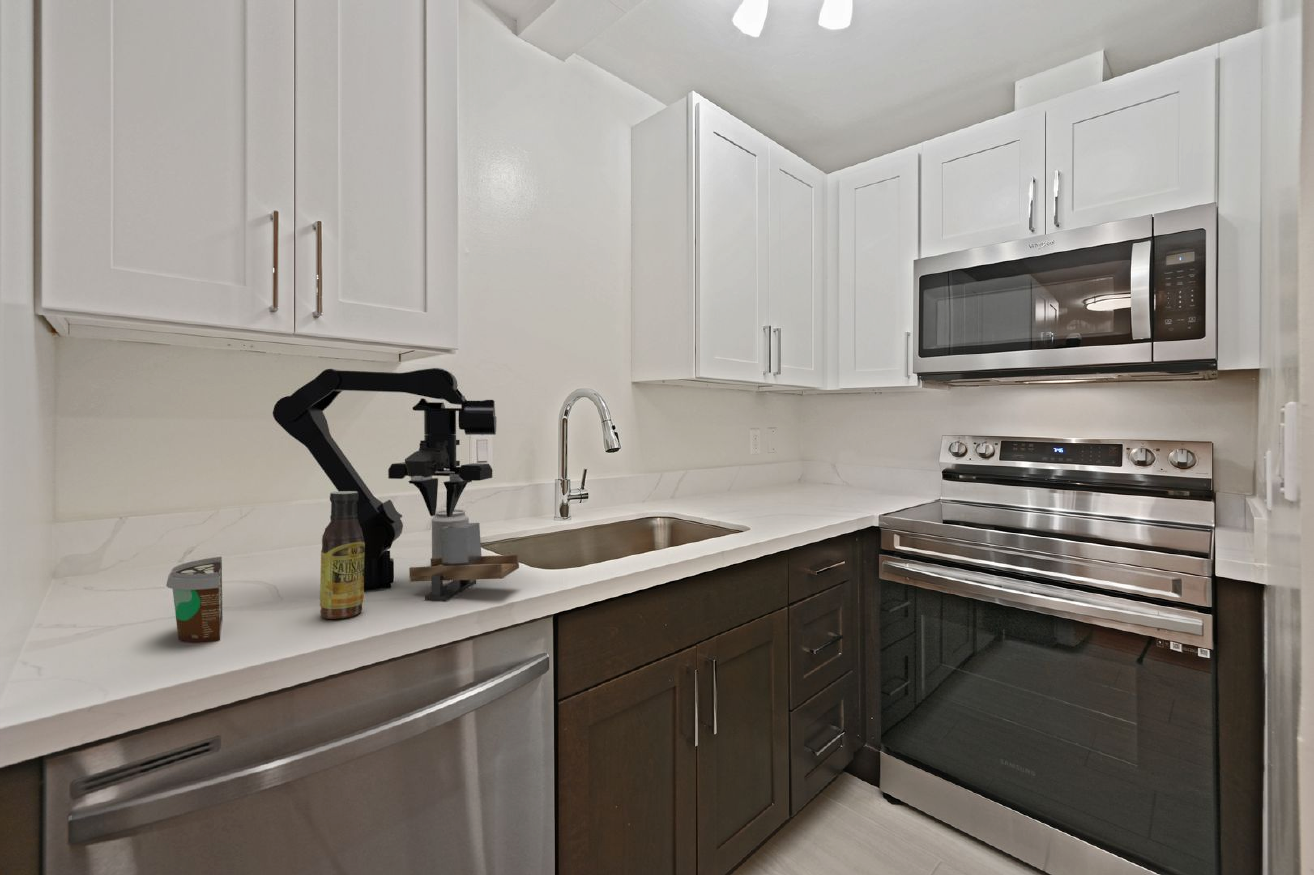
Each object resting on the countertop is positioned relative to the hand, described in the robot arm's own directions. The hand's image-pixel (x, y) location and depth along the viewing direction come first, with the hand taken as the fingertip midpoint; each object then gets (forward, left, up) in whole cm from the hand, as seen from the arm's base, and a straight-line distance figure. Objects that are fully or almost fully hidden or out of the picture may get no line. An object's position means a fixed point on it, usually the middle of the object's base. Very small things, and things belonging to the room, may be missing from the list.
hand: (441, 516), depth 111 cm
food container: (-35, -13, -13) cm, 40 cm away
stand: (+1, -6, -13) cm, 15 cm away
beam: (+3, -8, -10) cm, 13 cm away
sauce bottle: (-16, -12, -13) cm, 24 cm away
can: (+3, +13, -13) cm, 19 cm away
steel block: (+3, -8, -9) cm, 12 cm away
